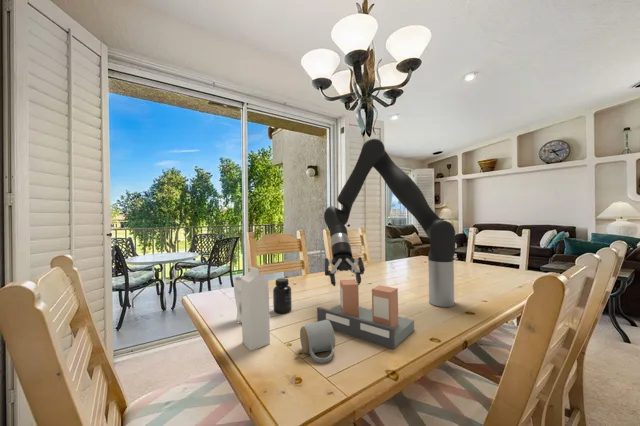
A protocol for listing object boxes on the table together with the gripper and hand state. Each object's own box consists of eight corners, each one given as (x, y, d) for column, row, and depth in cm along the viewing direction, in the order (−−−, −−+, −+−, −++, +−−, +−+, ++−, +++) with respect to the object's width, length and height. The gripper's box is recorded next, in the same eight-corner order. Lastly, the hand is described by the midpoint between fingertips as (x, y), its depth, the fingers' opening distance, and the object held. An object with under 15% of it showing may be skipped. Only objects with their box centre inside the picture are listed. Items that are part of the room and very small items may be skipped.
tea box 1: (355, 311, 94) (354, 279, 94) (359, 318, 88) (358, 284, 88) (340, 312, 93) (339, 280, 93) (343, 319, 87) (342, 284, 87)
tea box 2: (380, 319, 86) (379, 285, 86) (398, 324, 82) (397, 288, 82) (372, 325, 82) (371, 289, 82) (390, 330, 78) (389, 292, 78)
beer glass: (259, 317, 98) (258, 276, 98) (248, 325, 91) (246, 280, 91) (242, 315, 100) (241, 274, 100) (230, 323, 94) (229, 279, 93)
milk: (250, 351, 74) (248, 271, 74) (242, 342, 79) (239, 267, 79) (270, 344, 78) (268, 267, 78) (261, 336, 83) (259, 264, 83)
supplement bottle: (290, 307, 108) (289, 276, 108) (292, 313, 101) (292, 281, 101) (273, 308, 106) (272, 278, 106) (274, 315, 100) (273, 282, 100)
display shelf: (343, 310, 103) (343, 296, 103) (414, 329, 85) (413, 312, 85) (316, 324, 91) (316, 308, 91) (392, 349, 73) (392, 329, 73)
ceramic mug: (298, 346, 76) (298, 319, 76) (326, 341, 79) (325, 315, 79) (310, 367, 66) (310, 336, 66) (341, 360, 69) (340, 330, 69)
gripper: (323, 241, 102) (326, 279, 91) (360, 240, 104) (368, 277, 92) (322, 253, 108) (325, 290, 96) (357, 252, 109) (365, 289, 98)
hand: (346, 284), depth 94 cm, fingers open, 8 cm apart
